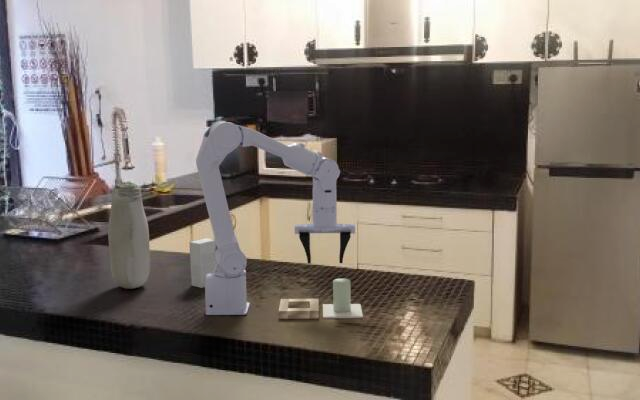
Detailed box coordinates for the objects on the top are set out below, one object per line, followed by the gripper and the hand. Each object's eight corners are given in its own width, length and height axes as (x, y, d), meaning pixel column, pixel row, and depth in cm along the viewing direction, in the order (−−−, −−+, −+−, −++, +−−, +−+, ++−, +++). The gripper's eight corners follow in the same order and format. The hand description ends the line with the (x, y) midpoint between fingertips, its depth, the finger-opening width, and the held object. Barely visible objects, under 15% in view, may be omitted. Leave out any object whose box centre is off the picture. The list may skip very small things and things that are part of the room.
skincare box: (207, 280, 182) (206, 237, 180) (218, 283, 179) (217, 239, 177) (190, 285, 177) (188, 241, 175) (201, 288, 175) (199, 243, 173)
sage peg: (333, 312, 153) (333, 283, 151) (333, 307, 156) (332, 278, 155) (351, 312, 152) (350, 283, 151) (350, 307, 156) (350, 278, 155)
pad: (323, 318, 150) (323, 316, 150) (322, 305, 159) (322, 304, 159) (362, 317, 150) (362, 316, 150) (360, 305, 159) (360, 303, 159)
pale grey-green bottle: (156, 288, 175) (150, 183, 170) (116, 295, 169) (110, 186, 165) (145, 280, 183) (139, 179, 179) (107, 285, 178) (100, 181, 173)
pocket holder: (278, 318, 150) (278, 311, 150) (280, 306, 159) (280, 299, 159) (318, 318, 150) (318, 310, 150) (318, 305, 159) (318, 298, 159)
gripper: (293, 210, 156) (294, 266, 158) (355, 209, 156) (355, 266, 158) (295, 205, 163) (295, 259, 165) (354, 205, 163) (354, 259, 165)
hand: (325, 262), depth 162 cm, fingers open, 7 cm apart
